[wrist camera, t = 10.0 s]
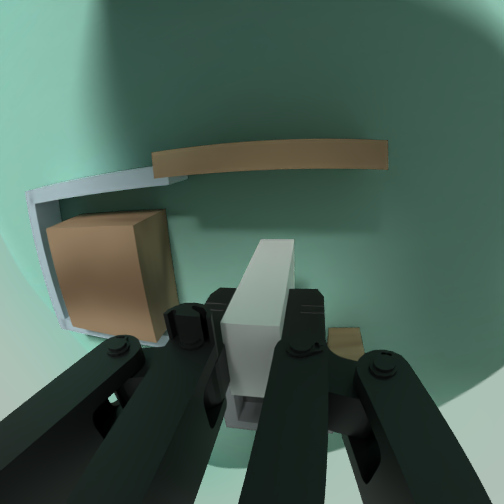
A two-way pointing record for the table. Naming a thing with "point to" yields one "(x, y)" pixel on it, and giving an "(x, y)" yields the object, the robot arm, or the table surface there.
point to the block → (116, 271)
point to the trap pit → (243, 411)
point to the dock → (48, 214)
